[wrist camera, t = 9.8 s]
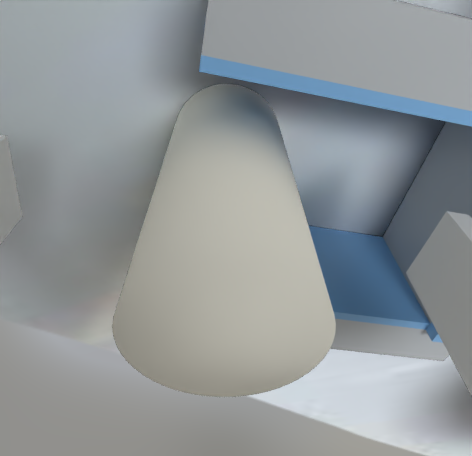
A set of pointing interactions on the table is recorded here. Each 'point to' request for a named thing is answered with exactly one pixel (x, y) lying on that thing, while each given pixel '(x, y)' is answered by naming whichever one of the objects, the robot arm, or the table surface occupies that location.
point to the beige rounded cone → (225, 259)
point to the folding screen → (376, 95)
